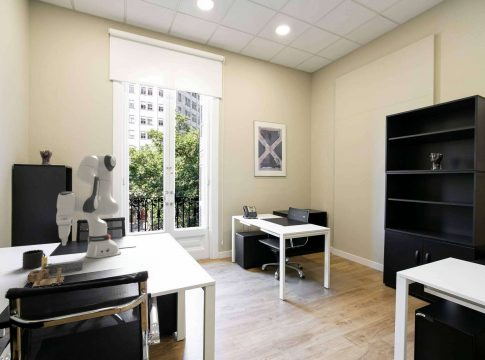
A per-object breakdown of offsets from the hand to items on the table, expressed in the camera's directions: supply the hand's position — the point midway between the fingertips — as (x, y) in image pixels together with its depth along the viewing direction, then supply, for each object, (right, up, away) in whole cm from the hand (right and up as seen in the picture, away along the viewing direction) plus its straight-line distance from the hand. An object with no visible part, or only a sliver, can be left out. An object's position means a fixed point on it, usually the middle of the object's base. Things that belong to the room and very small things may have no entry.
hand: (64, 243), depth 144 cm
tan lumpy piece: (-6, -16, -12) cm, 21 cm away
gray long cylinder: (0, -16, 0) cm, 16 cm away
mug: (-23, -16, +7) cm, 29 cm away
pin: (-12, -16, 0) cm, 20 cm away
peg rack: (+4, -16, -16) cm, 23 cm away
